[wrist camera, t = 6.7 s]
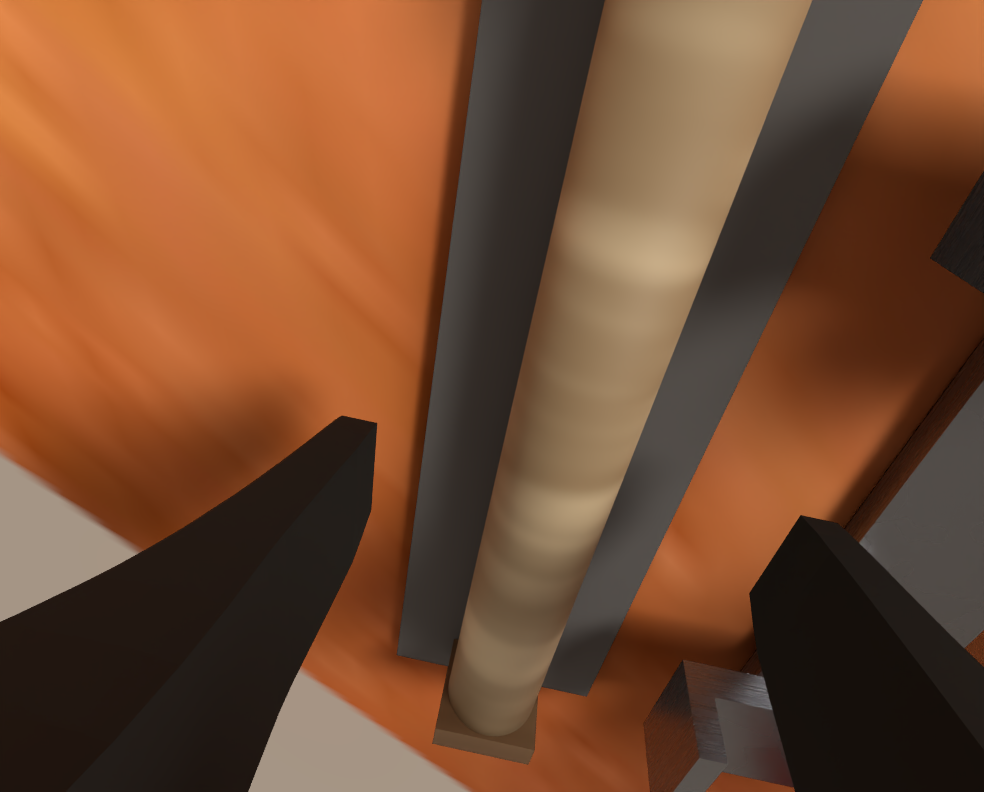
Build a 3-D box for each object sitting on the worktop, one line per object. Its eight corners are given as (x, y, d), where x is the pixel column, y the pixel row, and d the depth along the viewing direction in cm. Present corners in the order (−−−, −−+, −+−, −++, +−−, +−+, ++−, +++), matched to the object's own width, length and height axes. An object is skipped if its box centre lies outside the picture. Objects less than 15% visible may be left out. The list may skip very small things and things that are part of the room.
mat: (1004, -202, 7) (1026, -214, 7) (586, 684, 18) (586, 696, 18) (525, -295, 7) (522, -310, 7) (400, 643, 18) (396, 654, 18)
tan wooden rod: (643, -219, 7) (671, -328, 5) (852, -177, 7) (974, -269, 5) (450, 654, 17) (432, 743, 15) (534, 672, 17) (528, 764, 15)
